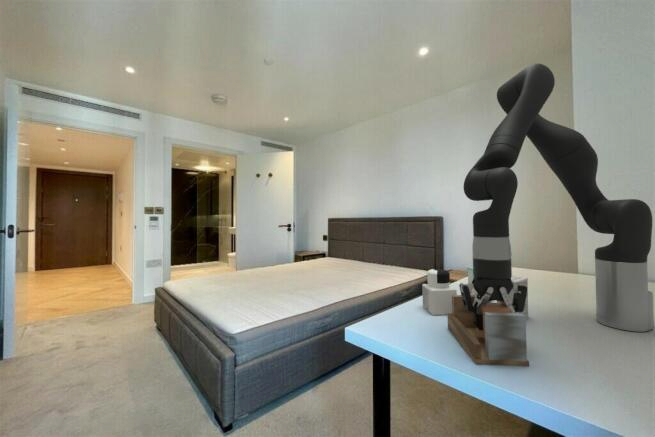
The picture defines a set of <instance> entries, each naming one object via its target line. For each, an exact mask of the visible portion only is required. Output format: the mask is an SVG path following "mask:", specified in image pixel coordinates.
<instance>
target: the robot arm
mask: <svg viewBox="0 0 655 437" xmlns="http://www.w3.org/2000/svg"><path fill="white" fill-rule="evenodd" d="M555 80H556V79H555V75H554V73H553V71H552V70H551V69H550V68H549V67H548V66H547V65H545V64H543V63H534V64H533V63H532V64H531V65H529V66H527V67H525V68H524V69H522V70H520V71H519V72H518V73H517V74H515V75H514V76H513V77H511V78H509V79H508V80H507V81H506V82H504V83H503V84H502V85H500V86H499V88H498V89H497V91H496V99H497V102H498V104H499V106H500V107H501V109H502V110H503V112H504V113H505V114H506V116H505V117H504V118H503V119H502V120H501V122H500V123H499V124H498V126H497V127H496V128H495V129H494V131H493V133H492V134H491V136H490V139H489V140H488V143H487V144H486V148H485V150H484V152H483V154H482V156H481V157H480V158H479V159H477V162H475V163H474V165H473V166H472V168H471V169H470V170H469V171H468V173H467V174H466V176H465V178H464V182H463V193H464V195H465V196H466V198H467V199H469V200H471V201H475V202H481V201H482V202H483V201H491V200H492V201H491V203H490V205H489V207H488V208H487V209H484V210H479V211H477V212H475V213H473V216H472V229H473V230H472V231H473V232H472V234H473V238H472V266H473V276H474V278H473V281H472V283H469V284H468V283H462V282H461V283H460V284H459V286H458V287H459V291H460V295H461V296H462V300H463V304H464V307H465V308H466V309H467V310H468V311H470V312H473V323H474V325H475V326H476V327H477V329H479V330H483V315H482V314H481V313H482V311H483V307H485V306H486V305H487V303H488V301H492V302H493V301H496V302H497V301H499V302H500V303H501V304H502V305H505V306H506V307H509V308H510V309H511V313H517V312H523V311H524V306H525V300H526V295H527V289H528V288H529V287H528V288H527V287H526V286H524V285H521V284H519V283H517V284H513V283H512V281H511V277H512V276H513V271H512V269H513V268H512V247H511V245H512V244H511V241H510V225H509V224H510V214H511V211H512V206H513V202H514V201H515V200H514V199H515V197H516V194H517V190H518V185H519V183H518V181H519V180H518V177H517V174H516V173H515V171H514V170H513V169H511V168H512V167H514V166H515V164H516V163H517V160H518V158H519V156H520V154H521V150H522V148H523V144H524V142H525V139H526V138H528V139H529V140H530V142H531V143H532V144H533V146H534V147H535V149H536V150H537V151H538V152H539V155H541V157H542V159H543V160H544V161H545V163H546V164H547V165H548V167H549V168H550V169H551V171H552V172H553V173H554V174H555V176H556V177H557V178H558V180H559V181H560V182H561V184H562V185H563V187H564V189H565V190H566V191H567V193H568V194H569V196H570V198H571V199H572V200H573V202H574V204H575V206H576V208H577V210H578V212H579V213H580V215H581V218H582V219H583V221H584V222H585V224H586V225H587V226H588V227H589V229H591V230H593V231H594V232H596V233H600V234H605V235H606V234H607V235H613V238H612V241H611V243H609V244H607V245H604V246H600V247H596V249H595V250H594V264H595V265H594V267H595V277H594V278H595V305H596V307H595V310H596V316H595V317H596V321H597V322H598V323H599V324H602V325H604V326H608V327H610V328H615V329H618V330H623V331H628V332H640V333H642V332H643V333H644V332H649V331H651V330H652V329H654V330H655V328H654V325H655V323H654V320H655V319H654V294H653V291H650V290H649V277H648V276H649V275H648V274H649V273H648V272H649V271H648V255H649V254H650V251H651V248H652V237H653V236H652V234H653V213H652V210H651V208H650V206H649V205H648V203H646V202H645V201H644V200H641V199H638V198H637V199H635V198H629V199H628V198H626V199H612V200H611V199H608V198H607V197H606V196H605V195H604V193H603V192H602V191H601V189H600V188H599V186H598V184H597V180H596V179H597V172H598V167H599V166H598V165H599V159H598V158H599V157H598V154H597V152H596V150H595V149H594V147H593V146H592V145H591V144H590V142H589V141H588V140H587V138H586V137H585V136H584V135H583V134H582V133H581V132H579V131H577V130H575V129H572V128H570V127H568V126H565V125H561V124H559V123H555V122H553V121H551V120H548V119H546V118H545V117H543V116H542V115H540V112H541V110H542V108H543V107H544V105H545V104H546V102H547V100H548V99H549V98H550V96H551V95H552V93H553V91H554V88H555ZM473 288H474V289H475V290H476V292H477V294H476V296H475V298H474V300H475V301H474V304H472V300H471V296H470V294H471V293H472V289H473ZM512 289H513V292H514V296H513V301H512V302H511V300H510V298H509V296H508V294H509V293H510V291H511V290H512Z"/></svg>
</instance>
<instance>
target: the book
mask: <svg viewBox="0 0 655 437" xmlns="http://www.w3.org/2000/svg"><path fill="white" fill-rule="evenodd" d="M485 312H488V313H511V309H510V308H509V307H506V306H505V305H502V304H501V303H497V302H492V303H487V305H486V306H485V307H483V311H482V313H481V314H482V315H483V330H479V329H477V332H478V333H479V334H480V335H481V336H482V337H483V338H484V339H485Z"/></svg>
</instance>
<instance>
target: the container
mask: <svg viewBox="0 0 655 437" xmlns="http://www.w3.org/2000/svg"><path fill="white" fill-rule="evenodd" d="M426 273H427V274H426V275H427V276H426V278H427V283H422V287H421V288H422V307H423V308H424V309H425V310H426V311H427V312H428V313H430V314H431V315H432V316H445V315H447V316H448V314H447V313H450V314H452V295H458V294H457V289H456V288H454V287H452V286H450V285H451V281H450V280H451V277H450V272H449V271H448V270H446V269H442V268H431V269H429V270H427V272H426Z"/></svg>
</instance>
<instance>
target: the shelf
mask: <svg viewBox="0 0 655 437" xmlns="http://www.w3.org/2000/svg"><path fill="white" fill-rule="evenodd" d="M470 296H471V300H472V304H474V301H475V300H474V298H475V296H476V295H470ZM488 303H490V301H488ZM447 314H448V315H447V329H448V331H449V333H451V334H452V336H453V337H454V338H455V339H456V341H457V342H458V343H459V345H460V346H461V348H463V350H464V351H465V353H466V354H467V355H468V357H469V358H470V359H471V360H472V362H473V363H474V364H475V365H492V366H493V365H494V366H513V367H514V366H515V367H530V361H529V360H528V352H527V351H528V350H527V318H526V316H525V315H524V314H522V313H488V312H485V339H484V338H483V337H482V336H481V335H480V334H479V333H478V332H477V327H476V326H475V325H474V323H473V312H470V311H468V310H467V309H466V308H465V307H464V304H463V300H462V296H461V294H457V295H452V314H450V313H447Z"/></svg>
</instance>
